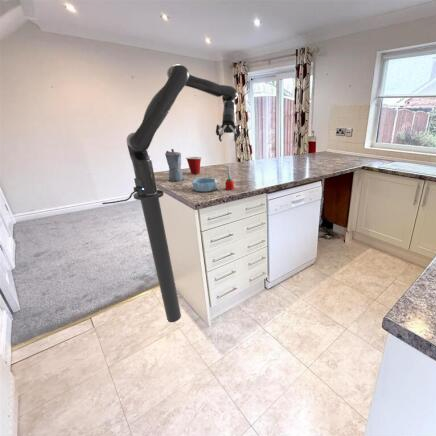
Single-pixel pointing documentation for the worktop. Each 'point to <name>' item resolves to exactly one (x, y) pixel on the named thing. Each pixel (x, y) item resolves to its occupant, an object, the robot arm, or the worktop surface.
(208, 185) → the serving bowl
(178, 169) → the moka pot
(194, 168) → the plastic cup
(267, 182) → the worktop surface
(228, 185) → the strawberry fork
